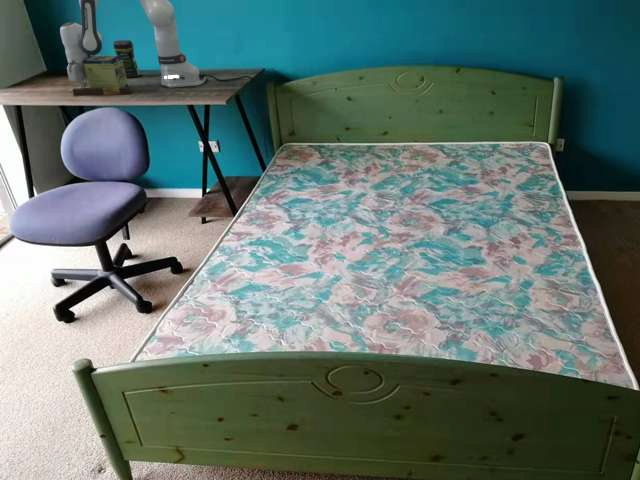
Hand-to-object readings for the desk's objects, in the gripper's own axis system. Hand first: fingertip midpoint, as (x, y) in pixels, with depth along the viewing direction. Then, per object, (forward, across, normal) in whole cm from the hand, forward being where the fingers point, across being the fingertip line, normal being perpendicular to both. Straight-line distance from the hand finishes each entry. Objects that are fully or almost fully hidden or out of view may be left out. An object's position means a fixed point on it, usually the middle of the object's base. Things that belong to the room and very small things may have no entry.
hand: (84, 86), depth 301 cm
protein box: (+2, +1, -12) cm, 12 cm away
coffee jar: (+2, +26, -14) cm, 29 cm away
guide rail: (+2, -7, -12) cm, 14 cm away
